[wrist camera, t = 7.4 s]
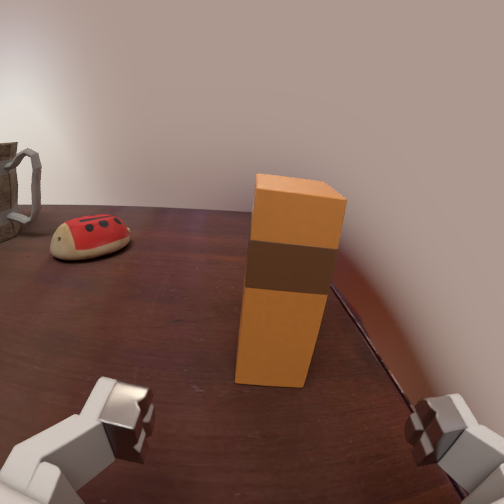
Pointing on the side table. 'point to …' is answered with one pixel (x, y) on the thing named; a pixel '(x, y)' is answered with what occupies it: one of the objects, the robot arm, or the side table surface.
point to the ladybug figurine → (89, 237)
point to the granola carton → (286, 278)
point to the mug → (16, 190)
